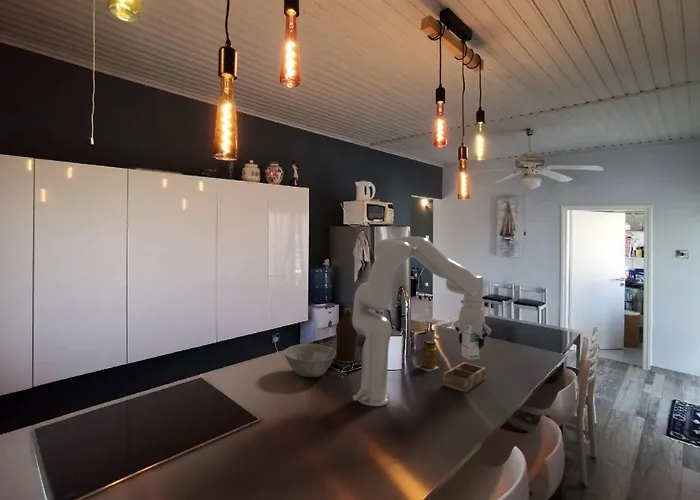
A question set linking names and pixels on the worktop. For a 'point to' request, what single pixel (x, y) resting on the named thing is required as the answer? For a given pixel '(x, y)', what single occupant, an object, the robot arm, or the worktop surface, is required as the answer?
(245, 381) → the worktop surface
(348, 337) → the olive oil
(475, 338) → the syrup box
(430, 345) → the condiment
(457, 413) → the worktop surface
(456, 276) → the robot arm
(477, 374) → the box
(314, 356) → the ceramic bowl
